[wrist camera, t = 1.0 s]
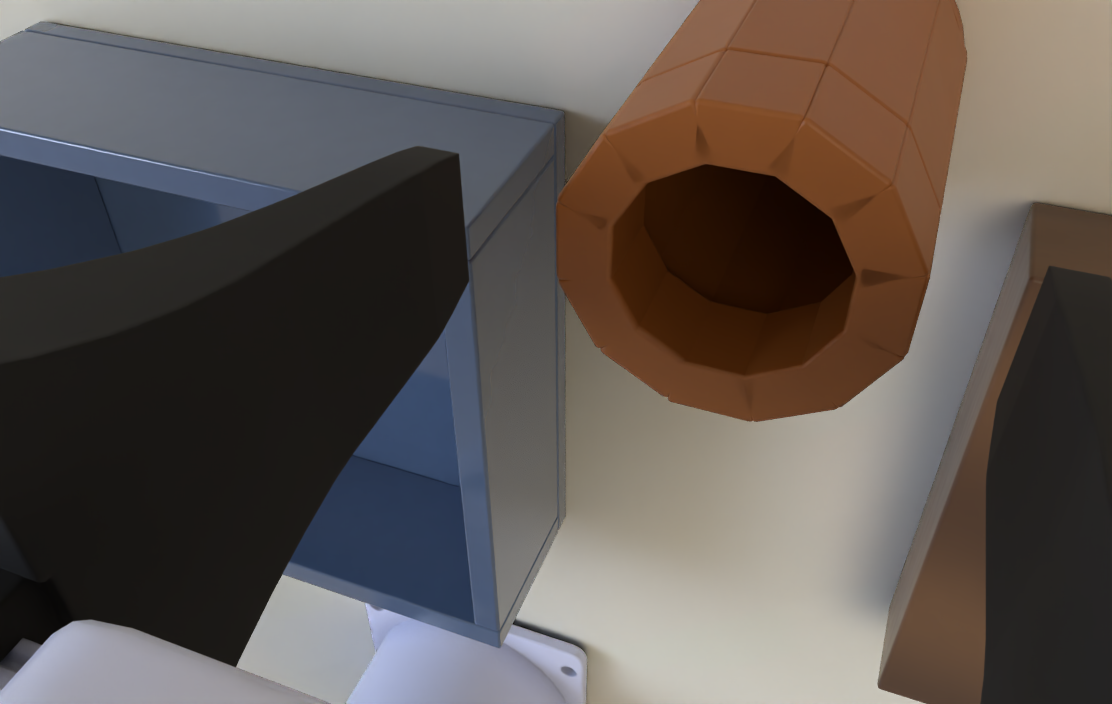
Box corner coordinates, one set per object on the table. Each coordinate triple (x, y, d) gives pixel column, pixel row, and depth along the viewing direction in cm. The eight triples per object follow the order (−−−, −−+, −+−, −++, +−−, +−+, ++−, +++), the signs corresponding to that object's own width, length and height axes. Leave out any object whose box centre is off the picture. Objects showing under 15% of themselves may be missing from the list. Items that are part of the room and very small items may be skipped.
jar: (927, 196, 18) (877, 455, 13) (684, 153, 19) (555, 374, 14) (999, -64, 15) (969, 143, 10) (705, -94, 16) (551, 76, 11)
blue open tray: (565, 516, 28) (500, 650, 24) (174, 400, 32) (72, 503, 28) (565, 109, 20) (467, 227, 16) (40, 20, 24) (-124, 101, 20)
